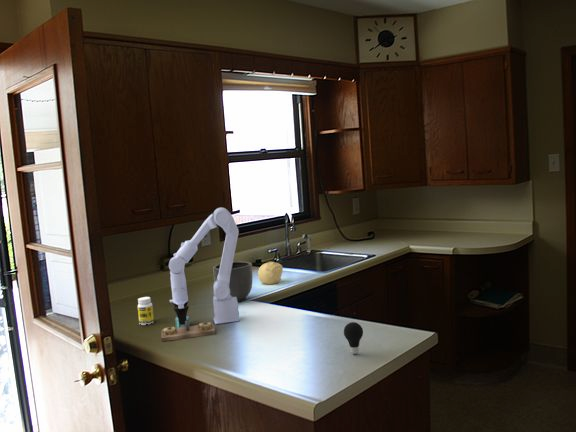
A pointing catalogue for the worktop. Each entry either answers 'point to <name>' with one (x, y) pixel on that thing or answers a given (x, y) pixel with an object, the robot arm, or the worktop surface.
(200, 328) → the gear board
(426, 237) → the worktop surface
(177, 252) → the robot arm
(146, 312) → the supplement bottle
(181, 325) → the teal gear
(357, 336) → the light bulb
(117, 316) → the worktop surface
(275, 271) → the pale yellow round lump
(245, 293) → the planter
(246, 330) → the worktop surface
